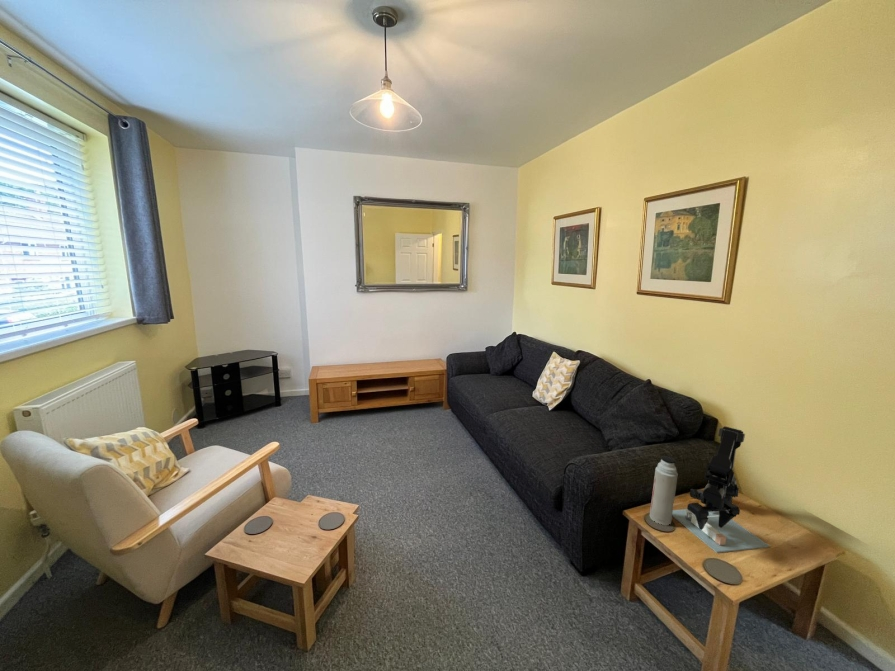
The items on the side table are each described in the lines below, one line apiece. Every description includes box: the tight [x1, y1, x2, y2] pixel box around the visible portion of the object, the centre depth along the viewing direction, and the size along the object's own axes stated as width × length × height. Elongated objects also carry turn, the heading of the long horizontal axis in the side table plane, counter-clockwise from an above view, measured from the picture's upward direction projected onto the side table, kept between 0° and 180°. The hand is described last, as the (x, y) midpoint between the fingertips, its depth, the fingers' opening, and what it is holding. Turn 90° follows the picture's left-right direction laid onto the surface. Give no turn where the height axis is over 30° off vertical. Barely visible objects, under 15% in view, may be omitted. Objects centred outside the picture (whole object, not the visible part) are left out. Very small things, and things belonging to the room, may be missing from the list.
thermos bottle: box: [649, 455, 679, 526], centre depth 147 cm, size 8×8×28 cm
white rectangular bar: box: [691, 515, 726, 545], centre depth 140 cm, size 13×2×3 cm, turn 9°
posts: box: [685, 510, 718, 521], centre depth 152 cm, size 18×4×4 cm, turn 109°
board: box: [672, 508, 771, 554], centre depth 145 cm, size 24×24×1 cm
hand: (710, 528), depth 139 cm, fingers open, 9 cm apart
